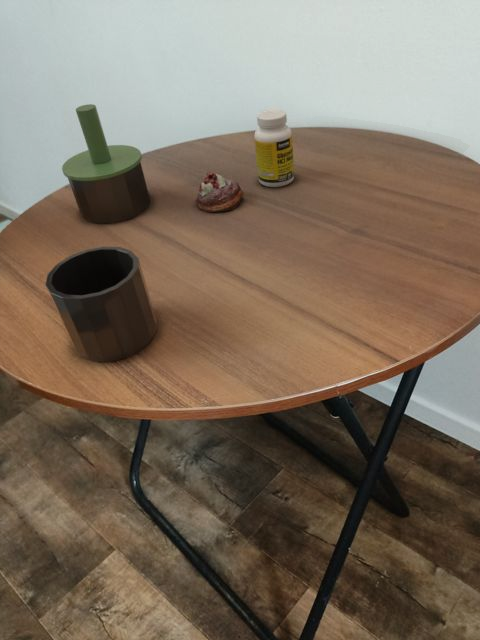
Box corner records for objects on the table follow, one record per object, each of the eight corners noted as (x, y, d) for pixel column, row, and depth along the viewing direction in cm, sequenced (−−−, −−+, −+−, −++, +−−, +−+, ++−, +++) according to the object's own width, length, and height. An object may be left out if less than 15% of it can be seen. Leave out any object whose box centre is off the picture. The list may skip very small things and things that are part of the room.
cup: (58, 359, 60) (28, 296, 54) (96, 306, 67) (72, 245, 61) (139, 365, 58) (116, 300, 52) (168, 310, 65) (151, 247, 59)
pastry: (189, 201, 87) (183, 172, 84) (227, 187, 90) (223, 158, 87) (212, 218, 82) (207, 188, 79) (252, 202, 85) (249, 172, 81)
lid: (50, 184, 81) (26, 123, 74) (86, 152, 90) (67, 95, 83) (124, 184, 78) (106, 121, 72) (154, 151, 87) (140, 92, 81)
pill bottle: (283, 190, 87) (278, 122, 79) (252, 185, 90) (244, 119, 82) (301, 175, 90) (297, 109, 83) (270, 171, 93) (264, 106, 86)
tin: (69, 223, 85) (53, 179, 80) (99, 191, 94) (86, 150, 89) (134, 224, 83) (121, 179, 78) (159, 191, 91) (149, 149, 86)
